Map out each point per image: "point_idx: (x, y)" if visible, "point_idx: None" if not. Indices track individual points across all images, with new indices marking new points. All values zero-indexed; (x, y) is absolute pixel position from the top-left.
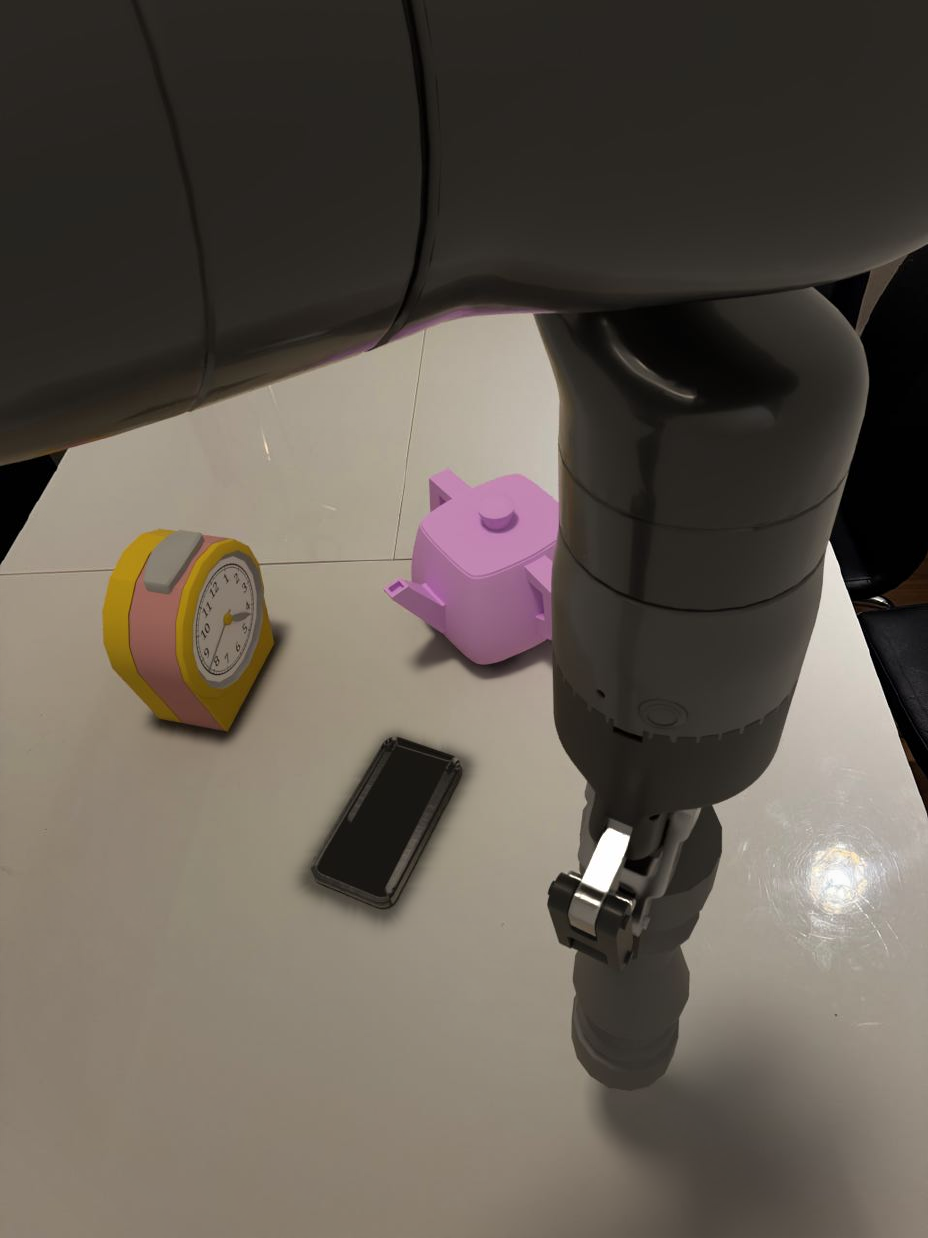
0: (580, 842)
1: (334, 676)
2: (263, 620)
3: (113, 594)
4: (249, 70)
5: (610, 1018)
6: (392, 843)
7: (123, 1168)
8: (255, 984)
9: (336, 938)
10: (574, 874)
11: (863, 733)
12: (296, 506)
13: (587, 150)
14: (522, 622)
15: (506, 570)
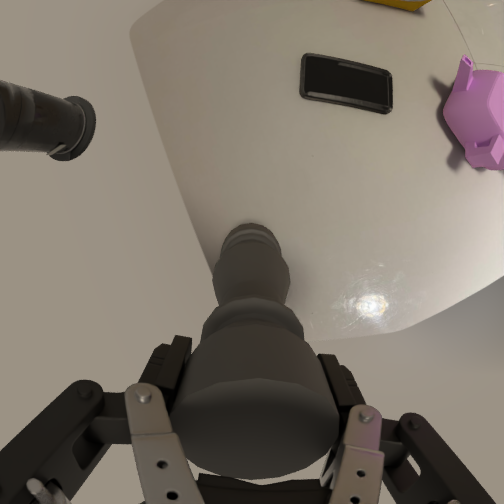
0: (135, 458)
1: (409, 40)
2: (420, 2)
3: None
4: None
5: (214, 280)
6: (334, 88)
7: (153, 46)
8: (241, 52)
9: (277, 77)
10: (36, 496)
11: (436, 304)
12: (476, 17)
13: None
14: (470, 134)
15: (495, 123)
